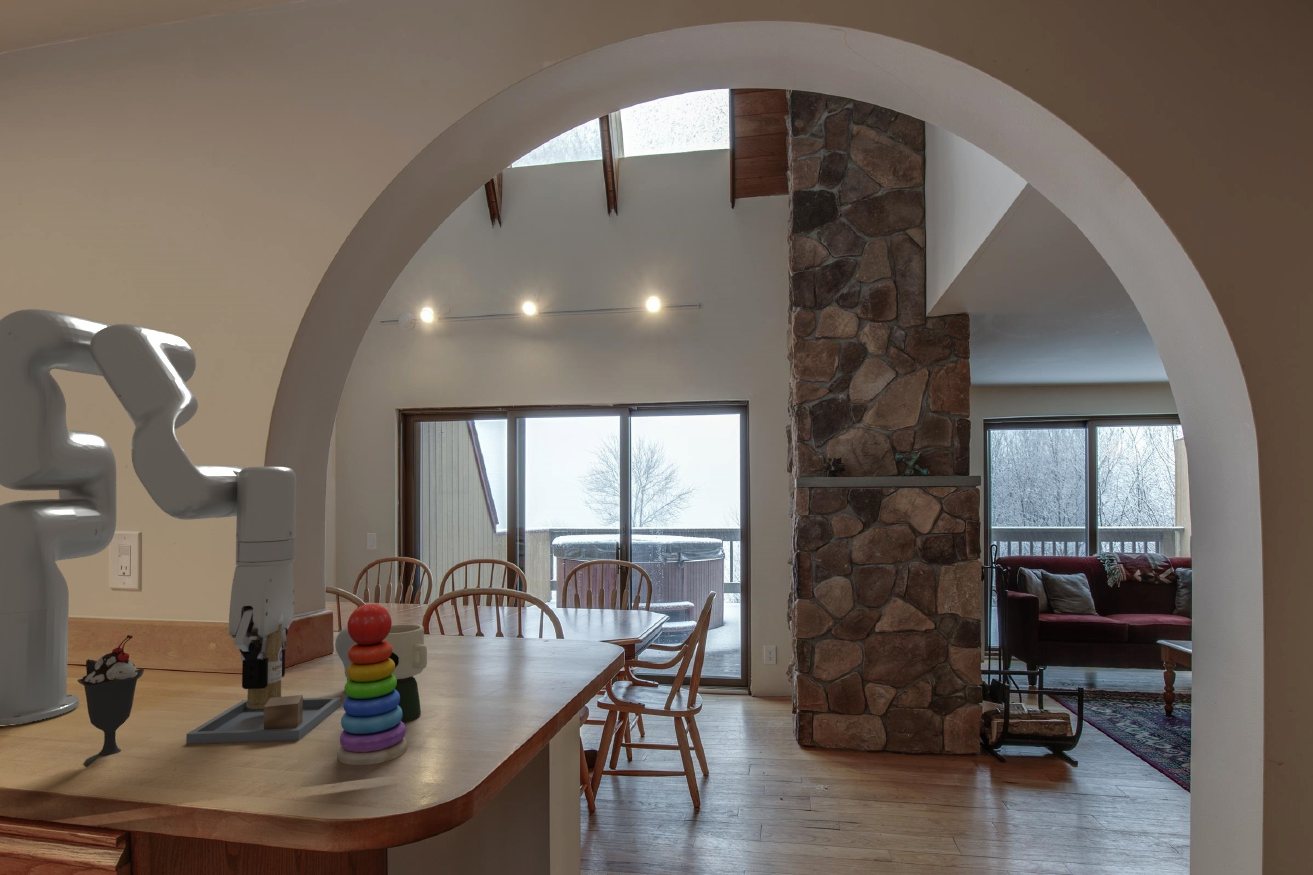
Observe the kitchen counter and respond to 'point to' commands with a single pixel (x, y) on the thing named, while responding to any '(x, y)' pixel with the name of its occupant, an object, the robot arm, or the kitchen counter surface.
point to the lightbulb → (344, 648)
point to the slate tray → (260, 724)
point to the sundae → (110, 695)
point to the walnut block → (283, 712)
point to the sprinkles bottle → (269, 671)
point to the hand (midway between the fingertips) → (264, 681)
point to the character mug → (408, 665)
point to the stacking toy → (371, 693)
